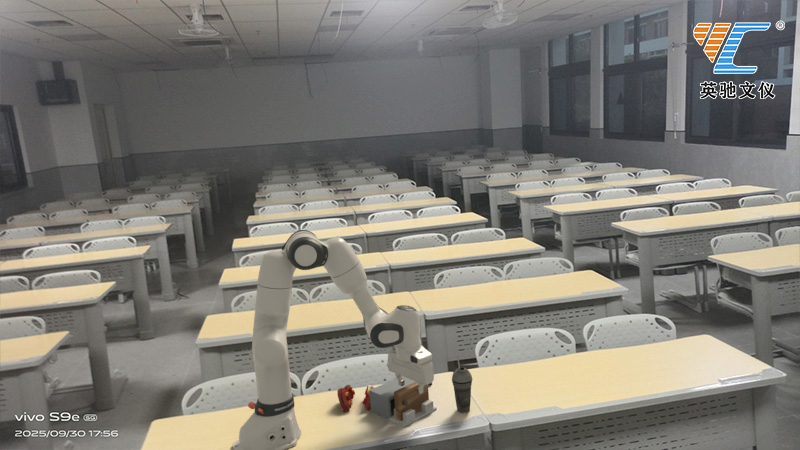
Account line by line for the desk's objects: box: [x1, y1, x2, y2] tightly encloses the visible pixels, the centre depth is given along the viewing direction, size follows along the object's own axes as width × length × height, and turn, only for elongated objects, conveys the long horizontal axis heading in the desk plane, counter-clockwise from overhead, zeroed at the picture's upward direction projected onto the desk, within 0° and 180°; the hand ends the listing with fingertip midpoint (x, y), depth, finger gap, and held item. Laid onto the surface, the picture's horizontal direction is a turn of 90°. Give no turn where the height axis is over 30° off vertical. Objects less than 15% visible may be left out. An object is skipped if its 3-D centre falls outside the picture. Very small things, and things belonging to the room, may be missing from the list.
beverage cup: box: [451, 355, 473, 414], centre depth 208 cm, size 7×7×20 cm
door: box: [394, 382, 430, 421], centre depth 208 cm, size 4×14×10 cm, turn 133°
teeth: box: [337, 384, 375, 413], centre depth 219 cm, size 10×8×15 cm
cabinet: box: [369, 376, 437, 427], centre depth 212 cm, size 16×18×8 cm
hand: (410, 389), depth 207 cm, fingers open, 8 cm apart
